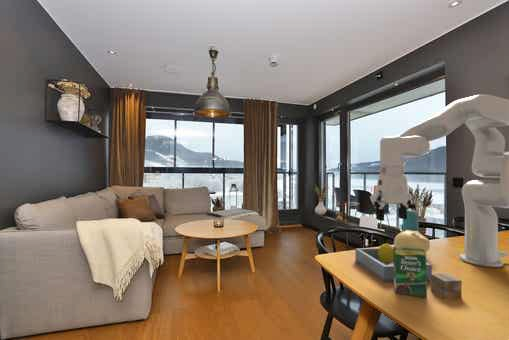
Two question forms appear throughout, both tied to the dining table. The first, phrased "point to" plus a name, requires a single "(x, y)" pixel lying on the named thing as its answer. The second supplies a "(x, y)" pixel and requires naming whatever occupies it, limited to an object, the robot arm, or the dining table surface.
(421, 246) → the sculpture
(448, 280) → the walnut cube
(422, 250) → the coffee box
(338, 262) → the dining table surface
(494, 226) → the robot arm
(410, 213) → the beverage bottle
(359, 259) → the tote
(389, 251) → the lemon
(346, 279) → the dining table surface
